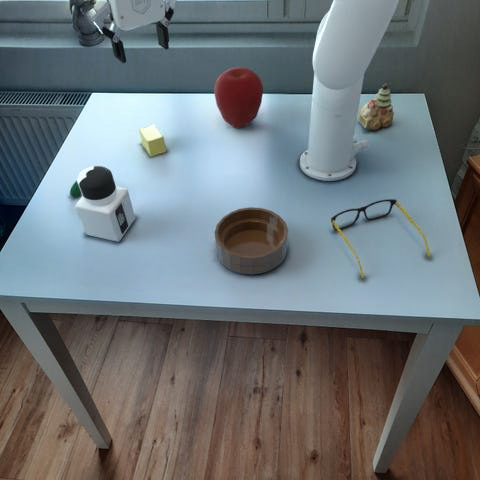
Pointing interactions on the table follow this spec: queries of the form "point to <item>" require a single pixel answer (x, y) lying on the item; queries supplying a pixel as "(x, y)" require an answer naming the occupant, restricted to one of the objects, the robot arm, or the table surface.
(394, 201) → the eyeglasses
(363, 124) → the ornament
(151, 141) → the cheese
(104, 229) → the container
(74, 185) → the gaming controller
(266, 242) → the bowl
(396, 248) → the table surface
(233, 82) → the apple
